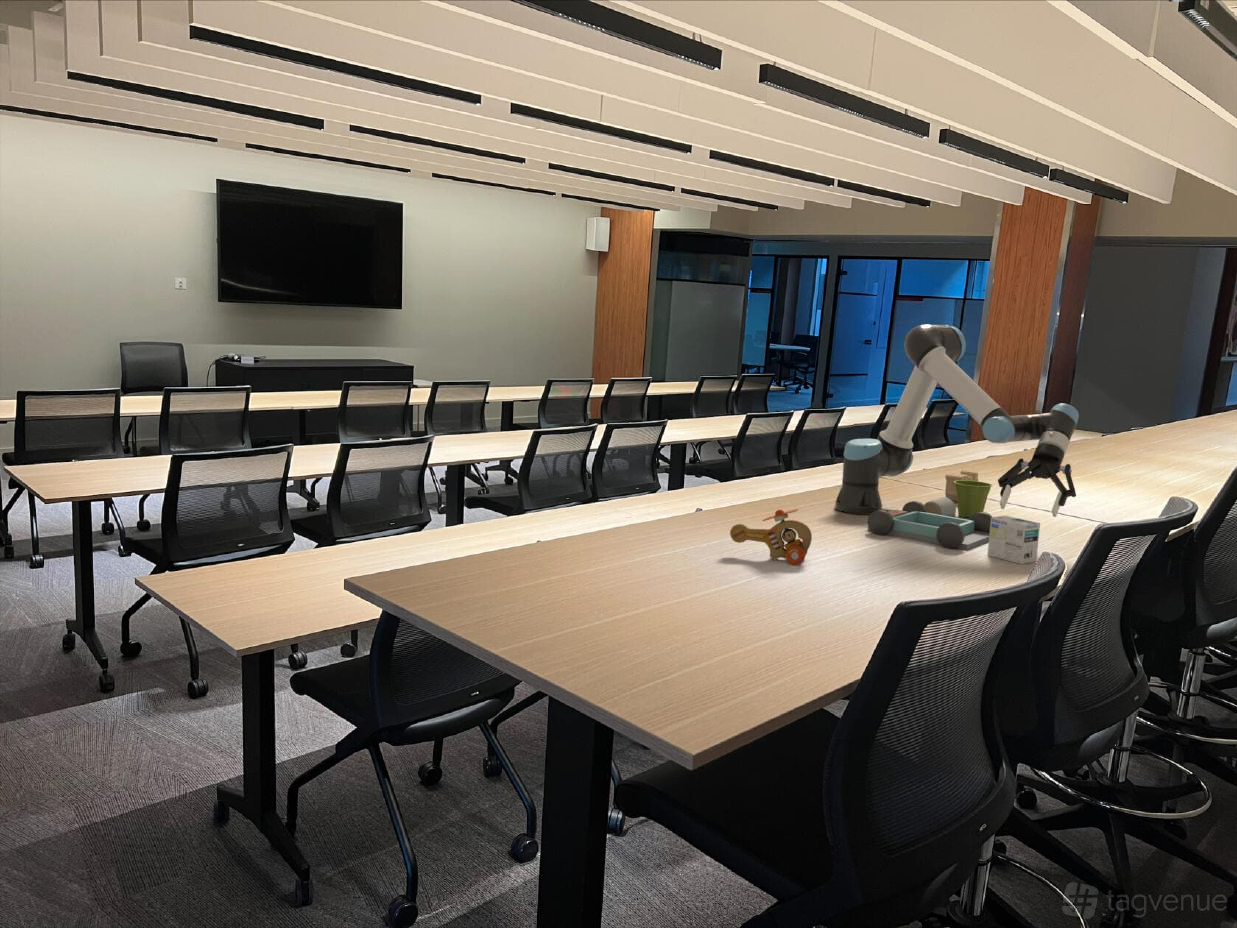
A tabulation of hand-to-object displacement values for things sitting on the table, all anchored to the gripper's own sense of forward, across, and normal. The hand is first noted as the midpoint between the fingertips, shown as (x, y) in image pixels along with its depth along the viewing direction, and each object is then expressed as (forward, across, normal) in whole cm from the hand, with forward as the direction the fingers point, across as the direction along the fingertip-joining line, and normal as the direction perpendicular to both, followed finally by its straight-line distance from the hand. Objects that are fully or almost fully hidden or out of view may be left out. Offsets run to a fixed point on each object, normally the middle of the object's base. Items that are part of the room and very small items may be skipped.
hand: (1027, 510), depth 247 cm
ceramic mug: (-7, -32, +25) cm, 41 cm away
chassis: (+7, -27, +10) cm, 30 cm away
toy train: (-39, -44, +56) cm, 81 cm away
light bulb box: (+14, 0, +4) cm, 15 cm away
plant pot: (-19, -30, +37) cm, 51 cm away
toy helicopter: (+50, -43, -32) cm, 73 cm away
